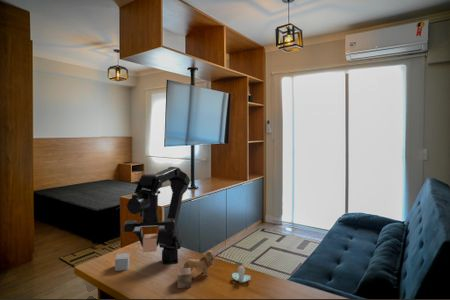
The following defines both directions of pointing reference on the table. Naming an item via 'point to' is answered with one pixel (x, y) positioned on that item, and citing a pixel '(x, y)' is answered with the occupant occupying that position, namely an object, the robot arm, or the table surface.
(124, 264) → the slate grey block
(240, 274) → the pacifier
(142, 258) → the table surface
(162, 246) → the robot arm
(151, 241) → the terracotta block
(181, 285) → the walnut block
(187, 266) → the lion figurine
